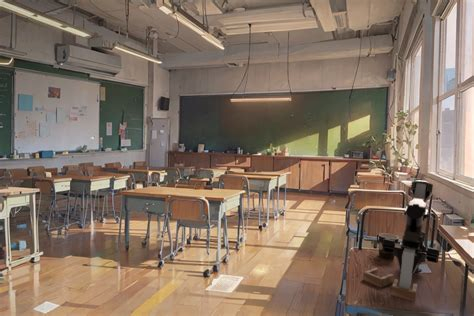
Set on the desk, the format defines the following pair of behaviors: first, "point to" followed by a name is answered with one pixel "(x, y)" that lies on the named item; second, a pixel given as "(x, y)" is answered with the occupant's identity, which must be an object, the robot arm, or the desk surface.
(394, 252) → the robot arm
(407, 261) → the slat
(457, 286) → the desk surface
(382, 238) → the coffee mug
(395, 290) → the end cap
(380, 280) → the end cap
